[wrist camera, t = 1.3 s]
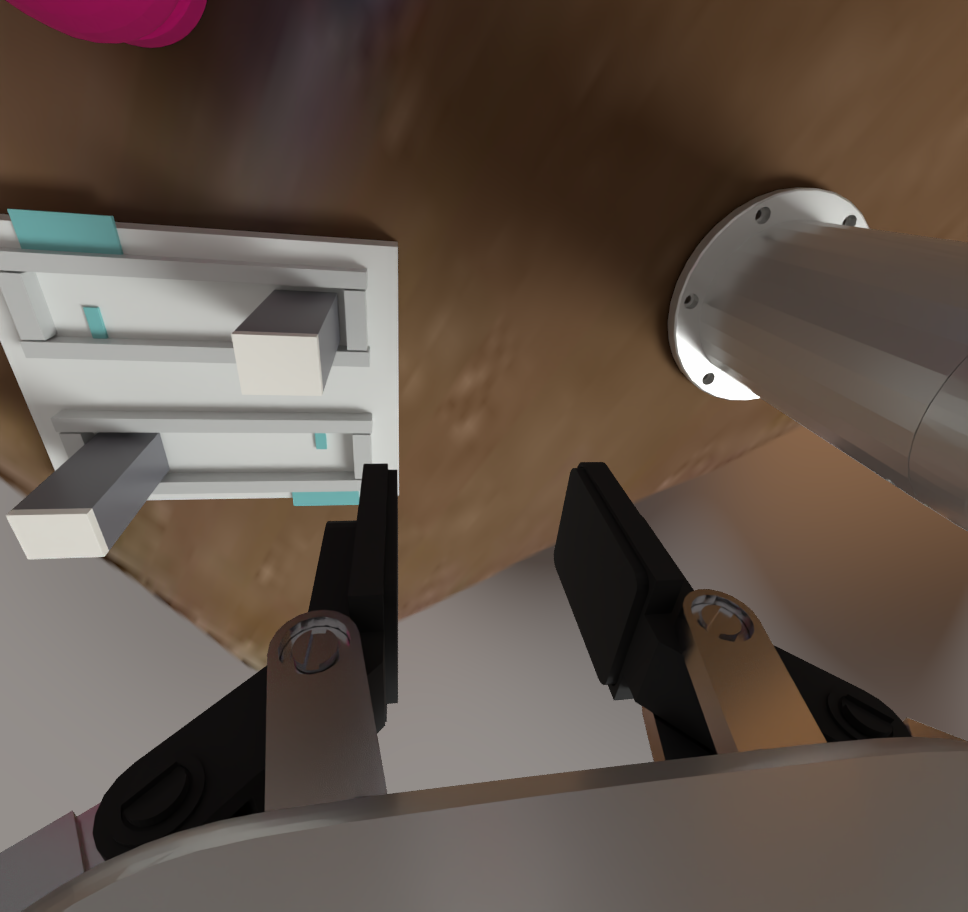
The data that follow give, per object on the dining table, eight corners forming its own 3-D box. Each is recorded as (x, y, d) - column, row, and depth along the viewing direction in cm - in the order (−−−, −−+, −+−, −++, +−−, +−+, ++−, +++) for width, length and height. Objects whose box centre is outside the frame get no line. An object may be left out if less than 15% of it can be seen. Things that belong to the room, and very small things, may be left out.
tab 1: (159, 432, 27) (86, 513, 21) (170, 469, 28) (104, 556, 22) (98, 431, 26) (5, 515, 20) (111, 469, 28) (27, 559, 21)
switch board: (397, 231, 26) (397, 238, 23) (398, 485, 34) (398, 511, 31) (-24, 200, 22) (-78, 205, 20) (89, 489, 30) (60, 518, 28)
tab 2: (337, 292, 25) (316, 337, 18) (340, 339, 26) (322, 396, 20) (274, 289, 24) (231, 334, 18) (280, 337, 25) (241, 394, 19)
